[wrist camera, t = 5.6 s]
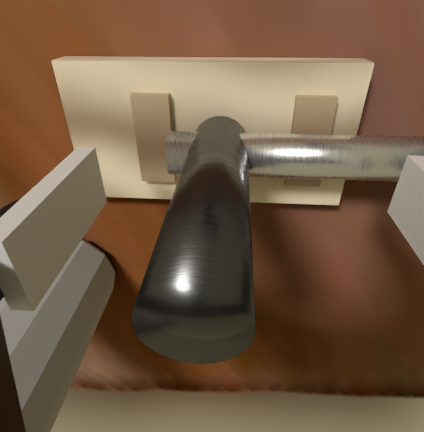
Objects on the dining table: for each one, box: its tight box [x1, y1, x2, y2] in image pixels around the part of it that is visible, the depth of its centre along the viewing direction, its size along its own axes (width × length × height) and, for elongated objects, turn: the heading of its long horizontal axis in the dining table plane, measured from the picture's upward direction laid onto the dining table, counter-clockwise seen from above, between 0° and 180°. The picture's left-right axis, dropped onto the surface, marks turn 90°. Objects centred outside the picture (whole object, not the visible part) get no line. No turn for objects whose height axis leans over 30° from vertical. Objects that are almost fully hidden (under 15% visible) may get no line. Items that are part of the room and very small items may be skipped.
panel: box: [52, 56, 375, 205], centre depth 19 cm, size 8×16×2 cm, turn 90°
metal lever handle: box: [131, 116, 424, 364], centre depth 13 cm, size 18×7×13 cm, turn 90°
